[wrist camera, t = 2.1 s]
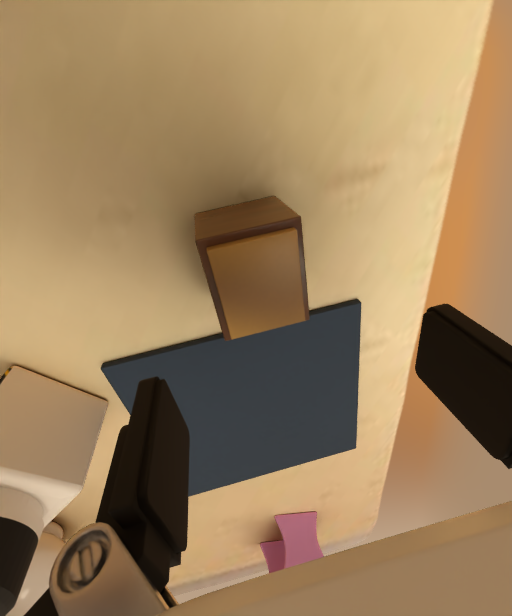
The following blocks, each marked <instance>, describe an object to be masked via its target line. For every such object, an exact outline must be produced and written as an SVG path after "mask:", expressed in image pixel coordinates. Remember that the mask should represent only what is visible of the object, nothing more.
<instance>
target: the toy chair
mask: <svg viewBox="0 0 512 616" xmlns="http://www.w3.org/2000/svg"><path fill="white" fill-rule="evenodd" d="M316 518H317V512H307V513H296V514H286V515H276V516H275V520H276V522H277V524H278V526H279V529H280V531H281V534H282V537H283V540H281V541H273V542H264V543H260V546H261V549H262V551H263V553H264V556H265V559H266V562H267V565H268V569H269V573H272V572H275V571H279V570H282V569H285V568H289V567H292V566H295V565H298V564H302V563H305V562H308V561H312V560H315V559H318V558H321V557H324V556H323V554H322V551H321V549H320V547H319V544H318V541H317V534H316Z"/></svg>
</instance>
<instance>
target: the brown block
mask: <svg viewBox="0 0 512 616" xmlns="http://www.w3.org/2000/svg"><path fill="white" fill-rule="evenodd" d="M195 240H196V245H197V248H198V252H199V255H200V259H201V262H202V265H203V269H204V272H205V276H206V279H207V282H208V286H209V289H210V292H211V296H212V299H213V303H214V306H215V309H216V313H217V316H218V319H219V323H220V326H221V330H222V333H223V336H224V340H225V341H228V340H232V339H236V338H240V337H244V336H248V335H252V334H256V333H260V332H264V331H267V330H271V329H275V328H279V327H283V326H287V325H291V324H295V323H299V322H303V321H306V320H309V306H308V294H307V282H306V271H305V259H304V247H303V235H302V223H301V217H300V216H299V215H298V214H297V213H296V212H294V211H293V210H292V209H291V208H289V207H288V206H287V205H286V204H284V203H283V202H282V201H281V200H279V199H278V198H277V197H276V196H272V197H267V198H263V199H259V200H254V201H250V202H245V203H241V204H236V205H232V206H227V207H223V208H218V209H214V210H209V211H205V212H200V213H196V214H195Z"/></svg>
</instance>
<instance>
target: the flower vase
mask: <svg viewBox="0 0 512 616" xmlns="http://www.w3.org/2000/svg"><path fill="white" fill-rule="evenodd" d="M62 538H63V529H62V528H61V526H60V525H58V524H57V523H55V522H52V521H50V522H49V523H48V524H47V525H46V526H45V527H44V528H43V531H42V534H41V537H40V539H39V542H38V545H37V548H36V550H35V553H34V556H33V558H32V561H31V564H30V566H29V569H28V572H27V575H26V577H25V580H24V583H23V585H22V588H21V591H20V593H19V596H18V599H17V602H16V604H15V606H14V607H13V609H12V610H11V611H10V612H9V613H8V614H7V615H6V616H24V615H25V614H26V613H27V611H28V610H29V609H30V608H31V607H32V606H33V605H34V604H35V603H36V601H37V600H38V599H39V598H40V597H41V596H42V595H43V594H44V593H45V591H46V590H47V589H48V588H49V578H50V572H51V569H52V566H53V564H54V561H55V559H56V557H57V556H58V554H59V552H60V551H61V549H62V547H63V546H64V545H65V543H64V542H63V541H62Z"/></svg>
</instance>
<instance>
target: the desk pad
mask: <svg viewBox="0 0 512 616" xmlns="http://www.w3.org/2000/svg"><path fill="white" fill-rule="evenodd" d="M360 323H361V302H360V301H359V300H358V299H356V300H352V301H348V302H344V303H341V304H337V305H333V306H329V307H325V308H321V309H317V310H313V311H309V320H306V321H303V322H299V323H295V324H291V325H287V326H283V327H279V328H275V329H271V330H267V331H264V332H260V333H256V334H252V335H248V336H244V337H240V338H236V339H232V340H228V341H225V340H224V336H223V333H222V334H218V335H214V336H210V337H206V338H202V339H198V340H194V341H190V342H186V343H182V344H178V345H174V346H170V347H166V348H162V349H158V350H154V351H150V352H146V353H142V354H139V355H135V356H131V357H127V358H123V359H119V360H115V361H111V362H107V363H103V364H102V367H101V370H102V372H103V373H104V375H105V376H106V378H107V379H108V381H109V382H110V384H111V386H112V387H113V389H114V390H115V392H116V393H117V395H118V396H119V398H120V400H121V401H122V403H123V404H124V406H125V407H126V409H127V410H128V412H129V413H130V415H131V412H132V408H133V404H134V400H135V396H136V391H137V387H138V383H139V381H140V380H144V379H148V378H152V377H156V376H158V377H159V379H160V380H162V379H165V380H166V382H167V384H168V387H169V389H170V391H171V393H172V395H173V397H174V399H175V401H176V403H177V406H178V408H179V410H180V412H181V414H182V416H183V418H184V420H185V423H186V425H187V427H188V430H189V435H190V448H189V488H188V497H189V496H192V495H196V494H199V493H203V492H206V491H209V490H213V489H216V488H220V487H223V486H227V485H230V484H234V483H237V482H241V481H244V480H248V479H251V478H255V477H258V476H261V475H265V474H268V473H272V472H275V471H279V470H282V469H286V468H289V467H293V466H296V465H300V464H303V463H307V462H310V461H313V460H317V459H320V458H324V457H327V456H331V455H334V454H338V453H341V452H345V451H348V450H352V449H355V448H356V436H357V408H358V380H359V351H360Z"/></svg>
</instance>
